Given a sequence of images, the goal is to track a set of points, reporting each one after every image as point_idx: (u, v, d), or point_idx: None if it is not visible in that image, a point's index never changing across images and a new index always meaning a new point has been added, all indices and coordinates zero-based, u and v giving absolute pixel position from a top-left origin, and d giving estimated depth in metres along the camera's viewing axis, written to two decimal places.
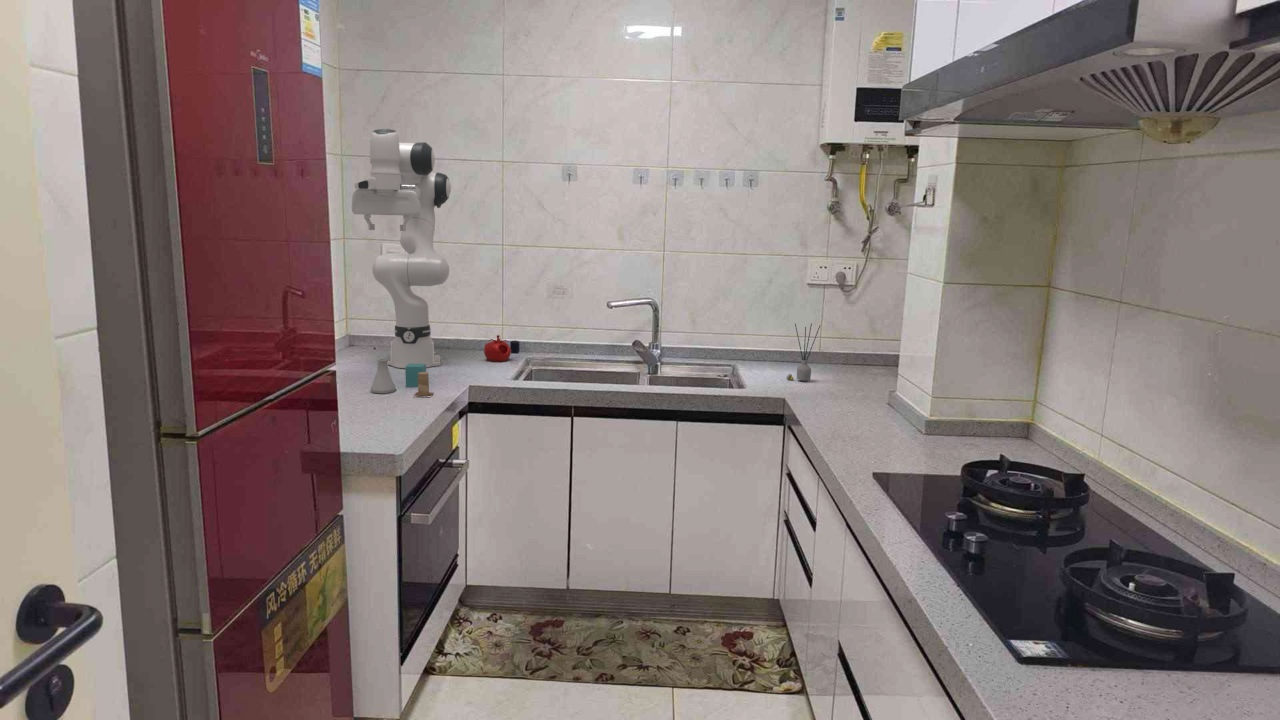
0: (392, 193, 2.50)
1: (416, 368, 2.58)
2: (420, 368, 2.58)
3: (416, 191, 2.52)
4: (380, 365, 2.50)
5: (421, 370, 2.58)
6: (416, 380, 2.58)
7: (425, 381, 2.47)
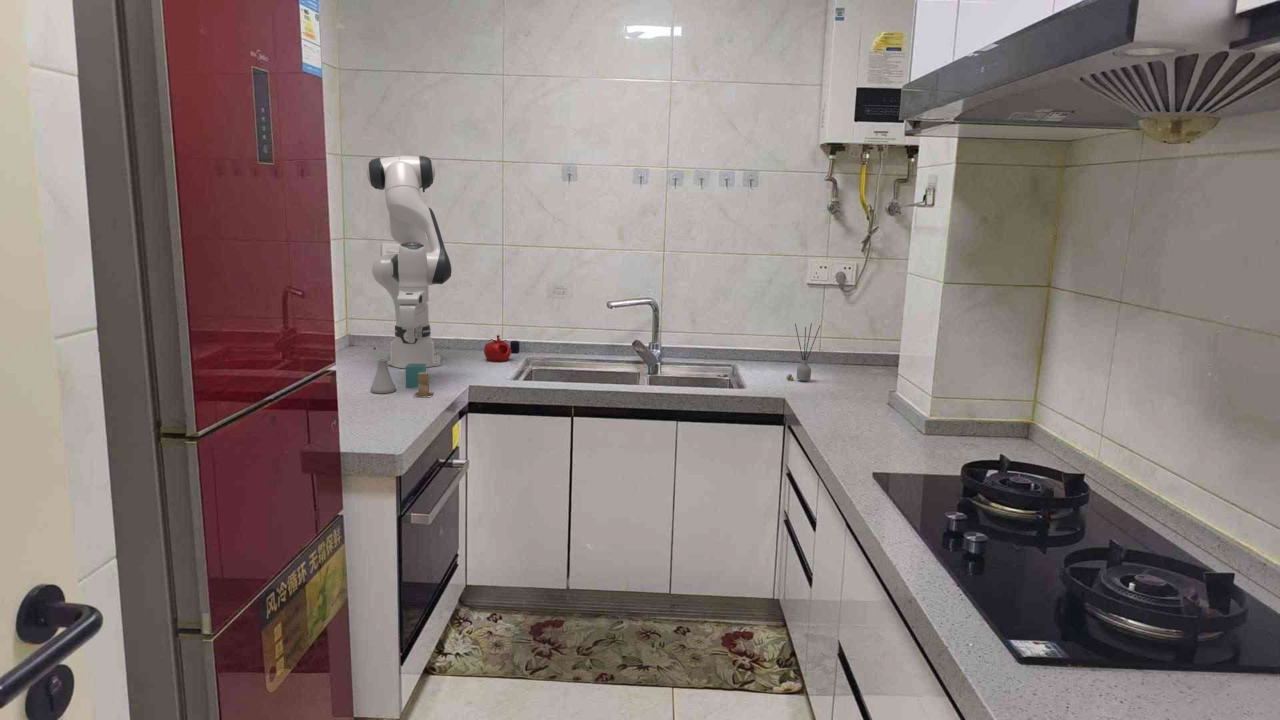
0: None
1: (416, 368, 2.58)
2: (420, 368, 2.58)
3: None
4: (380, 365, 2.50)
5: (421, 370, 2.58)
6: (416, 380, 2.58)
7: (425, 381, 2.47)
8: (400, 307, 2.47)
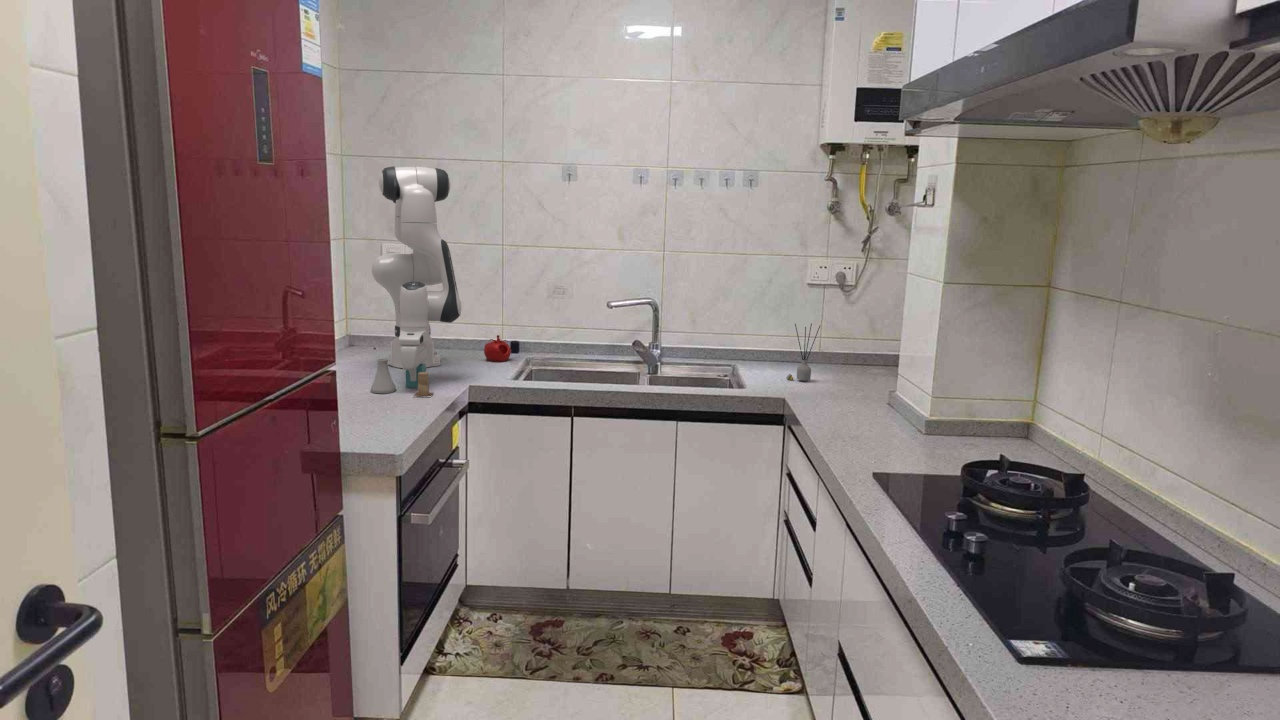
0: None
1: (416, 368, 2.58)
2: (420, 368, 2.58)
3: None
4: (380, 365, 2.50)
5: (421, 370, 2.58)
6: (416, 380, 2.58)
7: (425, 381, 2.47)
8: (401, 348, 2.50)
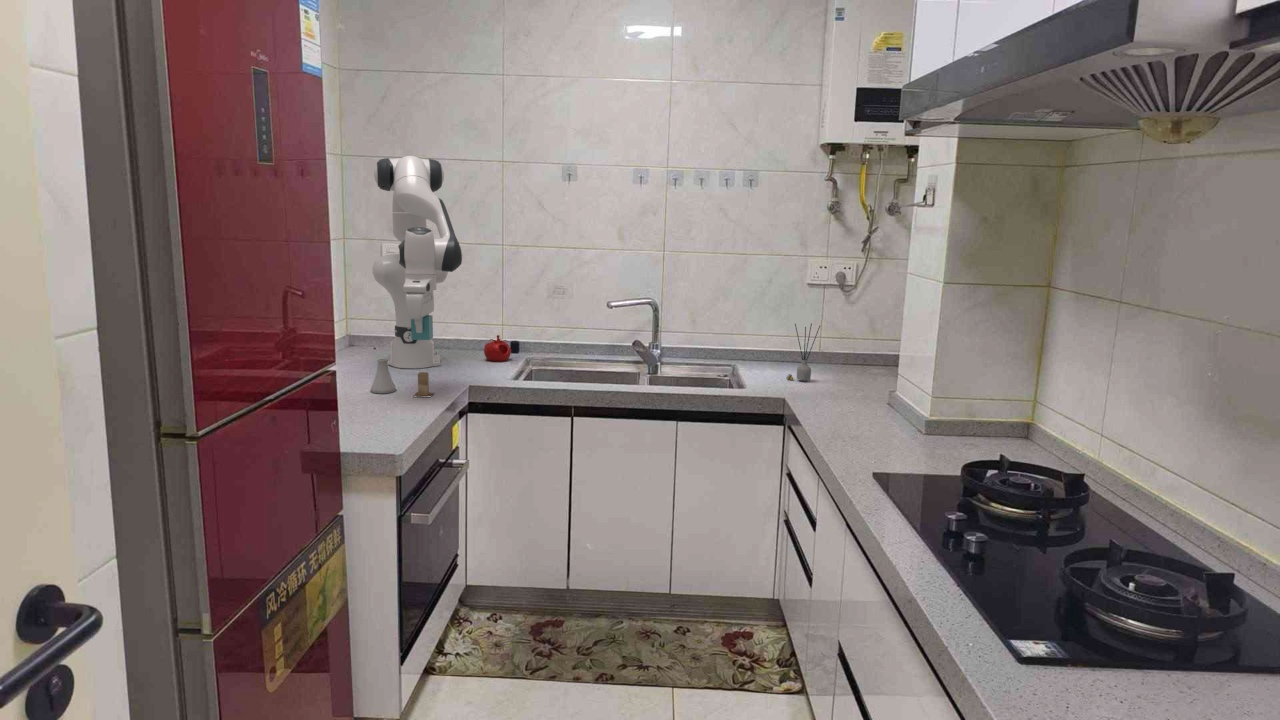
0: None
1: None
2: (427, 319, 2.42)
3: None
4: (380, 365, 2.50)
5: (428, 321, 2.42)
6: (422, 332, 2.43)
7: (425, 381, 2.47)
8: (407, 295, 2.34)
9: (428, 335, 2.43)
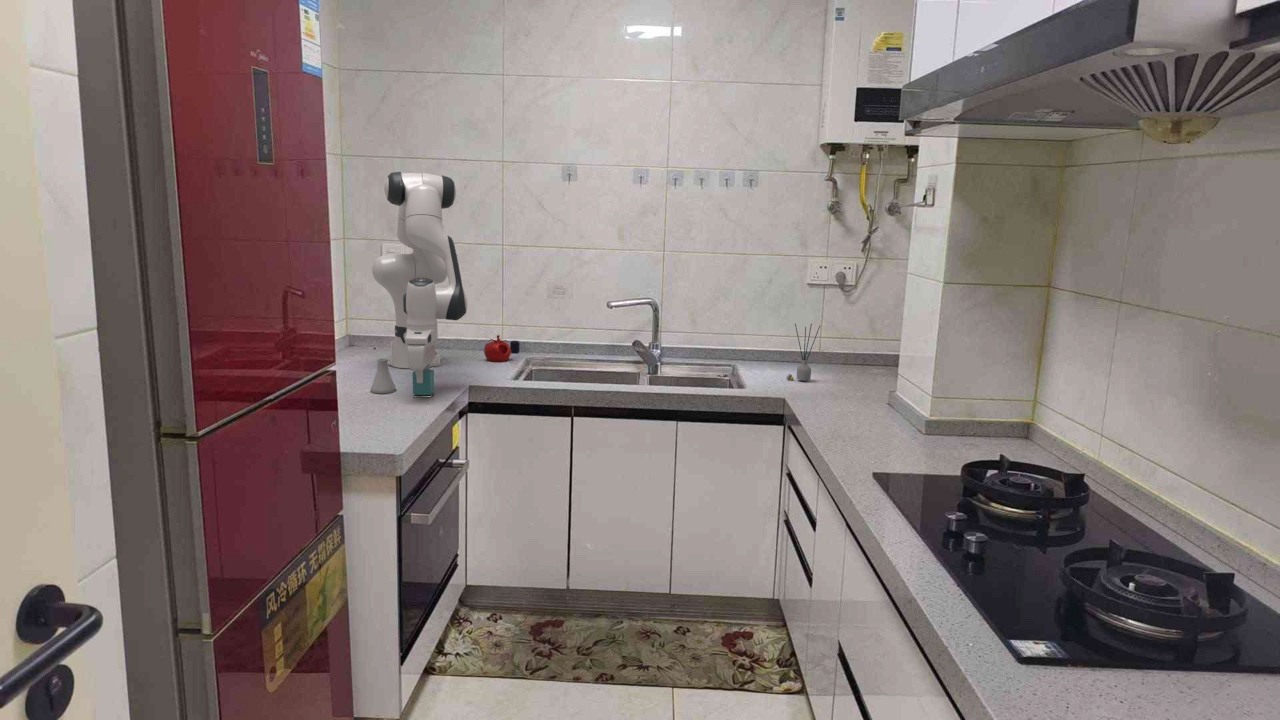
0: None
1: (424, 374, 2.45)
2: (428, 374, 2.45)
3: None
4: (380, 365, 2.50)
5: (429, 376, 2.45)
6: (424, 387, 2.46)
7: None
8: (408, 347, 2.37)
9: (429, 390, 2.46)
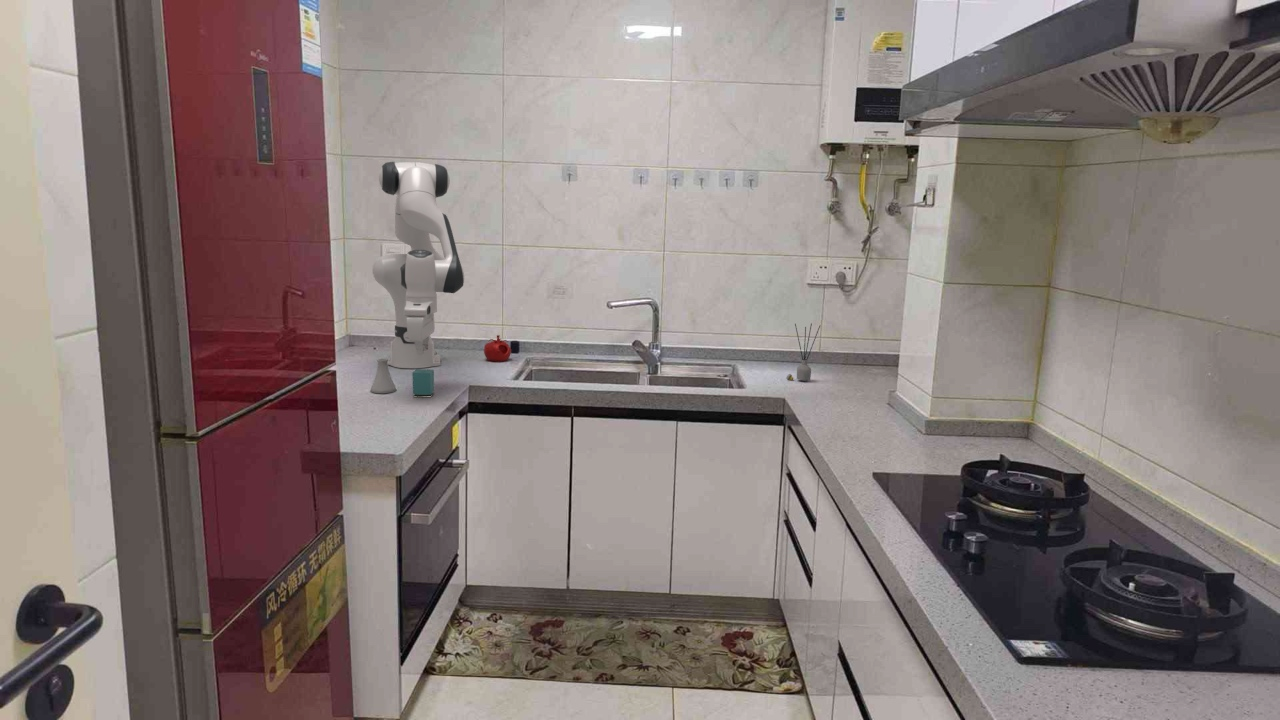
0: None
1: (424, 374, 2.45)
2: (428, 374, 2.45)
3: None
4: (380, 365, 2.50)
5: (429, 376, 2.45)
6: (424, 387, 2.46)
7: None
8: (407, 319, 2.35)
9: (429, 390, 2.46)
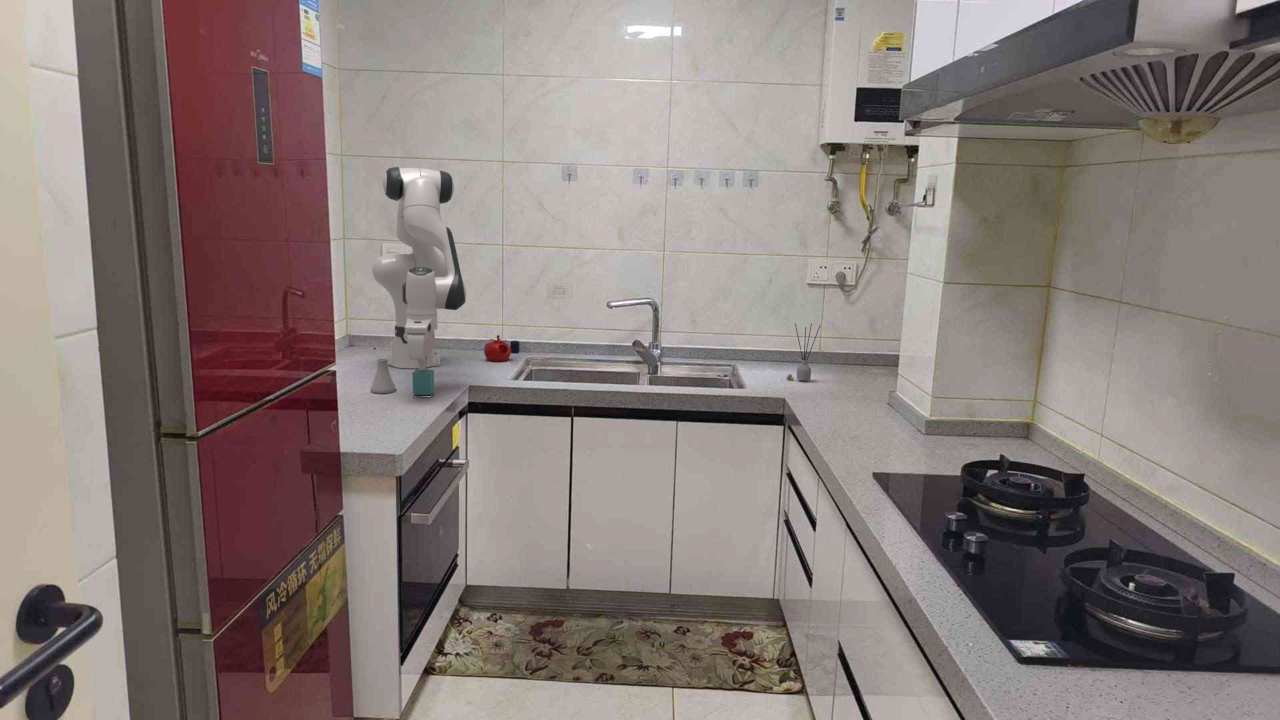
0: None
1: (424, 374, 2.45)
2: (428, 374, 2.45)
3: None
4: (380, 365, 2.50)
5: (429, 376, 2.45)
6: (424, 387, 2.46)
7: None
8: (408, 336, 2.36)
9: (429, 390, 2.46)
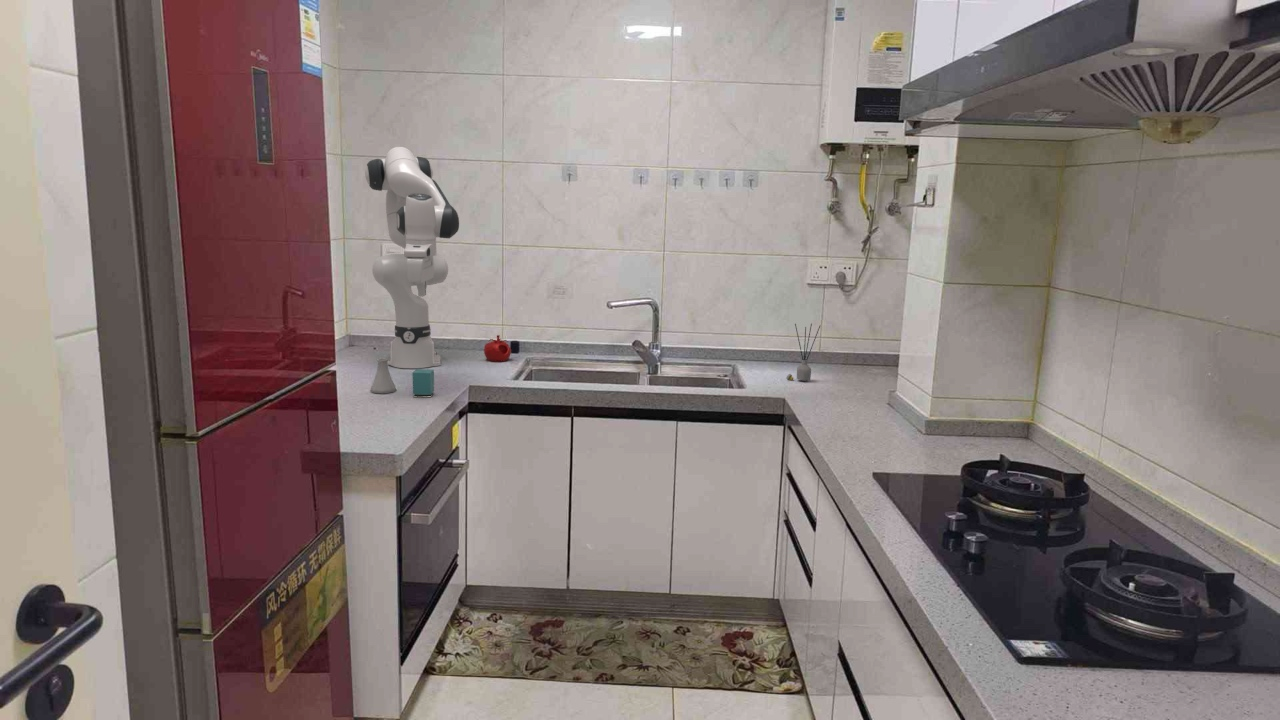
0: None
1: (424, 374, 2.45)
2: (428, 374, 2.45)
3: None
4: (380, 365, 2.50)
5: (429, 376, 2.45)
6: (424, 387, 2.46)
7: None
8: (407, 260, 2.38)
9: (429, 390, 2.46)
